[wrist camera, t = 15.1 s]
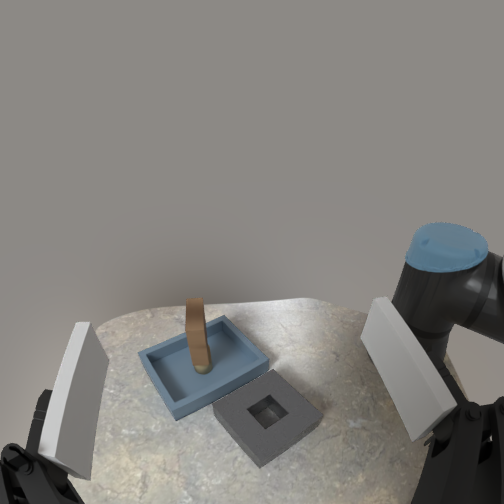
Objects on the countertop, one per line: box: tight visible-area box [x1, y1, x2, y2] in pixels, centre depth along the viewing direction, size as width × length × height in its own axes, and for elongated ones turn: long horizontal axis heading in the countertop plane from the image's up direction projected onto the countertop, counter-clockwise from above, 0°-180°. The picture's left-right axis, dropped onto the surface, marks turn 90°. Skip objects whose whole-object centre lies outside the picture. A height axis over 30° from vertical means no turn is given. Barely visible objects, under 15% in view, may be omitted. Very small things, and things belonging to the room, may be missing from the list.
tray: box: [138, 315, 269, 421], centre depth 41 cm, size 16×12×3 cm
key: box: [185, 298, 213, 375], centre depth 39 cm, size 6×3×12 cm, turn 9°
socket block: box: [212, 369, 323, 468], centre depth 33 cm, size 10×10×4 cm
